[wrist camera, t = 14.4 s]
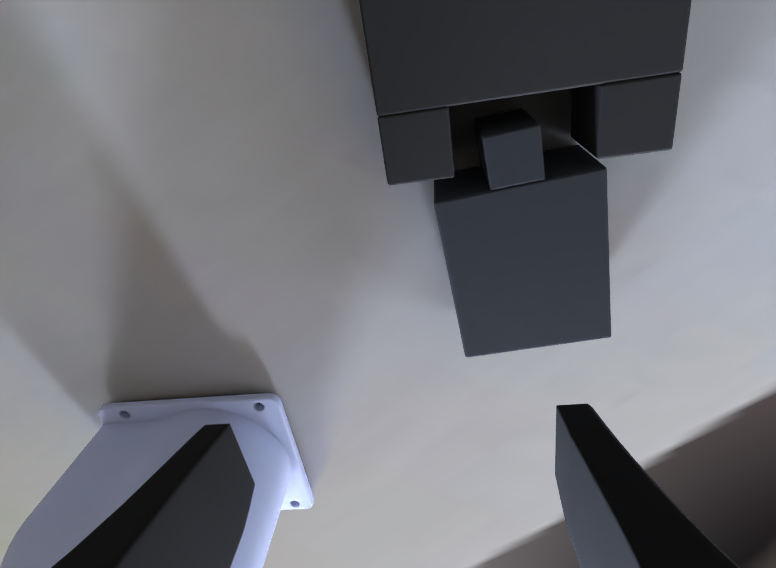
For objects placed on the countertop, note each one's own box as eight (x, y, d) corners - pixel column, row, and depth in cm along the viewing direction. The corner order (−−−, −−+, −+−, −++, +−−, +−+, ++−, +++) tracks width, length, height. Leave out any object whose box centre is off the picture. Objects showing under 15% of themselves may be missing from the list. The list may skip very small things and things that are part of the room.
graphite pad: (461, 313, 20) (465, 358, 17) (424, 129, 16) (422, 150, 14) (586, 294, 19) (611, 338, 16) (576, 94, 15) (606, 108, 13)
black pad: (394, 161, 17) (387, 186, 14) (352, -127, 13) (333, -164, 10) (632, 129, 16) (673, 150, 13) (661, -195, 12) (726, -257, 9)
